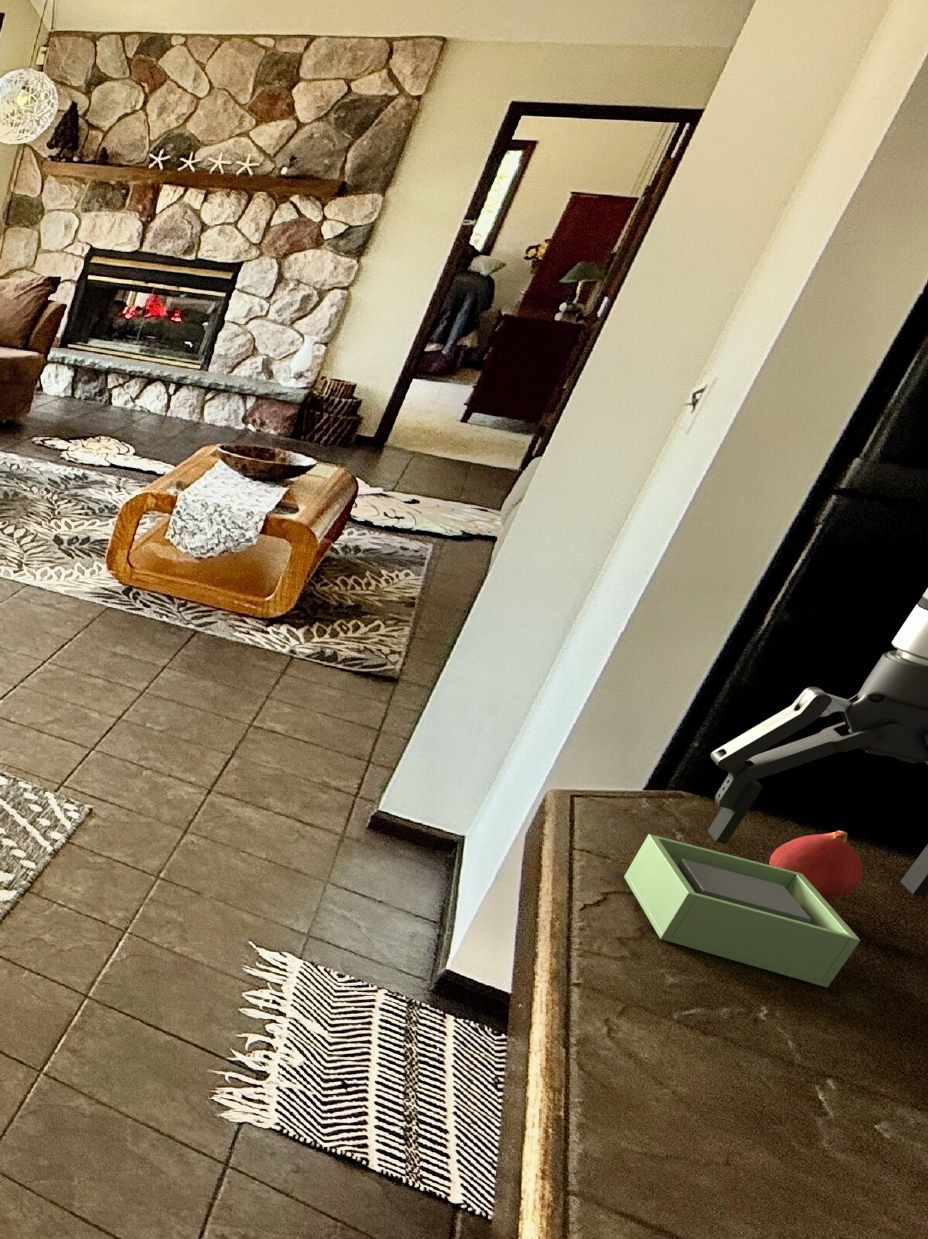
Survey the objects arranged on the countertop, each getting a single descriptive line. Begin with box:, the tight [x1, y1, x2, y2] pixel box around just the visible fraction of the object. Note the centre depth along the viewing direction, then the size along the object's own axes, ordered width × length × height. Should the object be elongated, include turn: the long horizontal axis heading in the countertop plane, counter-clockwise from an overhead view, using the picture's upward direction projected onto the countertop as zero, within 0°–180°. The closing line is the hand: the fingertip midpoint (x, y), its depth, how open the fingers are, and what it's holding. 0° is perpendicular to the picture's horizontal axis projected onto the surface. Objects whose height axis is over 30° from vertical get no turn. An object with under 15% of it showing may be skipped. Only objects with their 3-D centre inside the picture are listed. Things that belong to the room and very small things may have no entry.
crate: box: [623, 833, 861, 989], centre depth 106 cm, size 11×13×5 cm
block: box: [677, 859, 811, 924], centre depth 106 cm, size 7×7×4 cm
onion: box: [768, 830, 864, 900], centre depth 111 cm, size 6×6×8 cm
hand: (811, 863), depth 112 cm, fingers open, 13 cm apart
